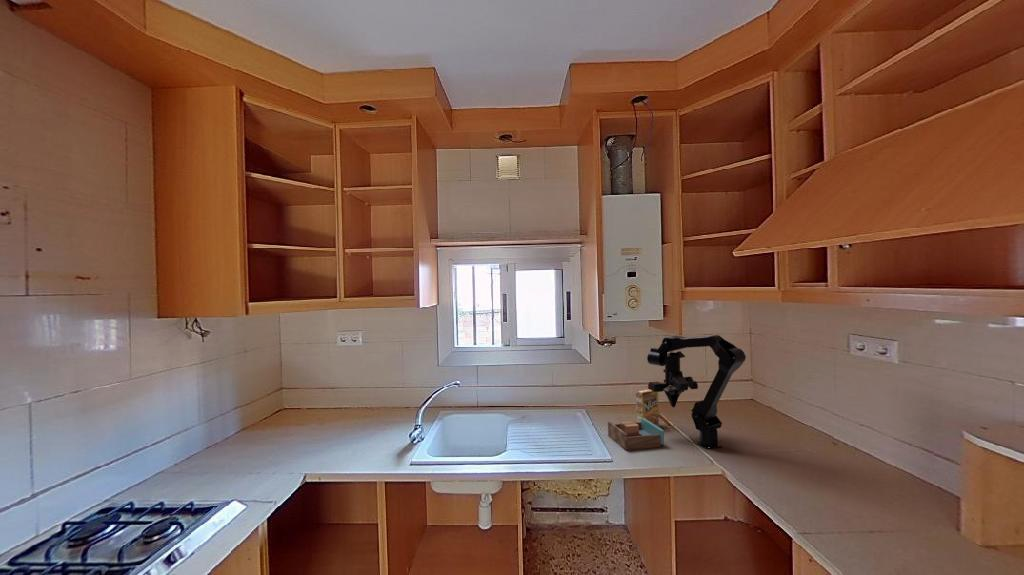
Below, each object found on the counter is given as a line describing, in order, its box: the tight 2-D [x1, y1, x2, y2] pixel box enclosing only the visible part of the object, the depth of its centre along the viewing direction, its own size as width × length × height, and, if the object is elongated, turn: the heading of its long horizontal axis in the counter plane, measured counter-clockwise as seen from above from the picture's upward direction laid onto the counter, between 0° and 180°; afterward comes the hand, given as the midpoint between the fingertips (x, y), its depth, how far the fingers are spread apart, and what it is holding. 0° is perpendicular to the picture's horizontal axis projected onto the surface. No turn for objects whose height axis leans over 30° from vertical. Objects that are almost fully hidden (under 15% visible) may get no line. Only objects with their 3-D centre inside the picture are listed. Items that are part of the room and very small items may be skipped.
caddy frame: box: [607, 421, 662, 451], centre depth 178 cm, size 16×14×6 cm
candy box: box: [635, 388, 660, 427], centre depth 195 cm, size 9×4×15 cm, turn 116°
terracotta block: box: [620, 421, 639, 437], centre depth 177 cm, size 5×5×5 cm
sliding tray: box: [639, 418, 665, 445], centre depth 178 cm, size 16×14×5 cm
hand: (673, 407), depth 184 cm, fingers closed
